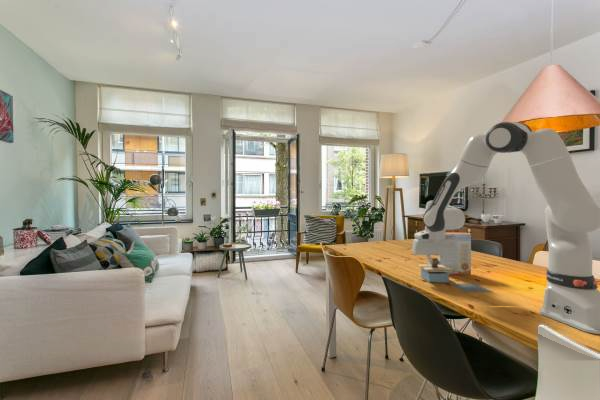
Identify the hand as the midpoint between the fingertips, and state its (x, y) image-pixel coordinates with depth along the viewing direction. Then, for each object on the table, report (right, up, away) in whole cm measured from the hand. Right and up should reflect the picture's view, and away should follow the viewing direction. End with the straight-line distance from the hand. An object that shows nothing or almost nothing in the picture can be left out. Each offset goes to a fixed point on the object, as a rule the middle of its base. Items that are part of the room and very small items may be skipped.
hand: (434, 264), depth 142 cm
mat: (+10, -8, -12) cm, 17 cm away
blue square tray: (0, -8, 0) cm, 8 cm away
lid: (0, -2, 0) cm, 2 cm away
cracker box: (+15, -8, +12) cm, 20 cm away
